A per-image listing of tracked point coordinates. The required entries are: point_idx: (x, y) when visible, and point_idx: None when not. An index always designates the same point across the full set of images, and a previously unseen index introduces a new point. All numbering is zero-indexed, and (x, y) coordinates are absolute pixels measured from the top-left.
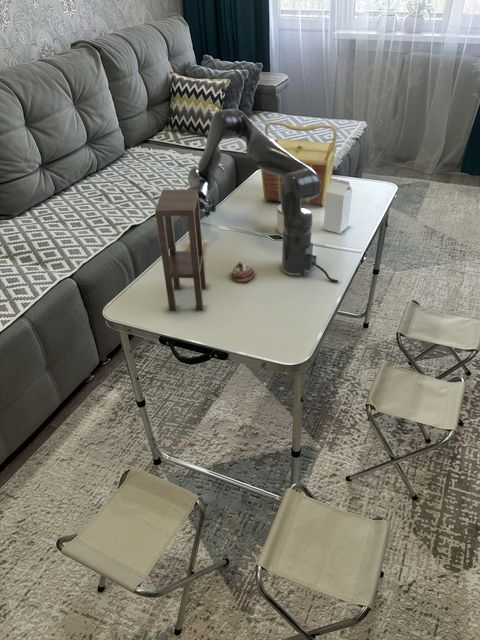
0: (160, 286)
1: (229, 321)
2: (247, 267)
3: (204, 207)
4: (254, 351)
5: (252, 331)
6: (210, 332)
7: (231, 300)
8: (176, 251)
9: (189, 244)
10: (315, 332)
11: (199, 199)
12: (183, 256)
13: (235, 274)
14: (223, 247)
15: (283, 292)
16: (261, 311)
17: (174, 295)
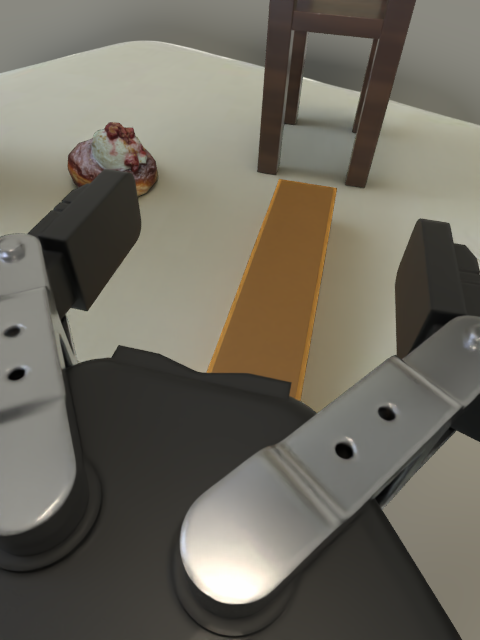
0: (417, 196)
1: (225, 92)
2: (87, 147)
3: (65, 334)
4: (203, 56)
5: (187, 74)
6: None
7: (198, 125)
8: (382, 19)
9: (308, 339)
10: (71, 58)
11: (51, 419)
12: (349, 6)
13: (145, 151)
14: None
15: (42, 120)
16: (141, 96)
17: (362, 87)
